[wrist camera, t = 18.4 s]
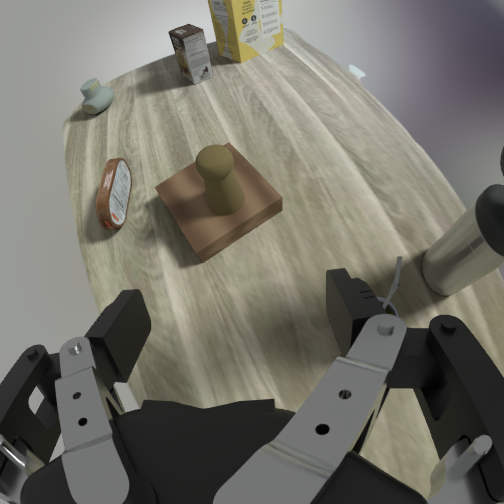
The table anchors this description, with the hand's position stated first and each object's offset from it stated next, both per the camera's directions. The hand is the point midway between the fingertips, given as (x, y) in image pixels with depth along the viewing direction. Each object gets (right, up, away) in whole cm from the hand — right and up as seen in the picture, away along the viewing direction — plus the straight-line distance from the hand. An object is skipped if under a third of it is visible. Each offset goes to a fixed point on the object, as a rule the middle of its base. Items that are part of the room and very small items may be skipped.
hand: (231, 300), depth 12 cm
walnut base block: (-5, +11, +38) cm, 40 cm away
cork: (-3, +10, +34) cm, 36 cm away
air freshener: (-45, +46, +58) cm, 87 cm away
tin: (-25, +12, +41) cm, 49 cm away
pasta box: (+1, +66, +61) cm, 90 cm away
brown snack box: (-15, +52, +57) cm, 79 cm away
